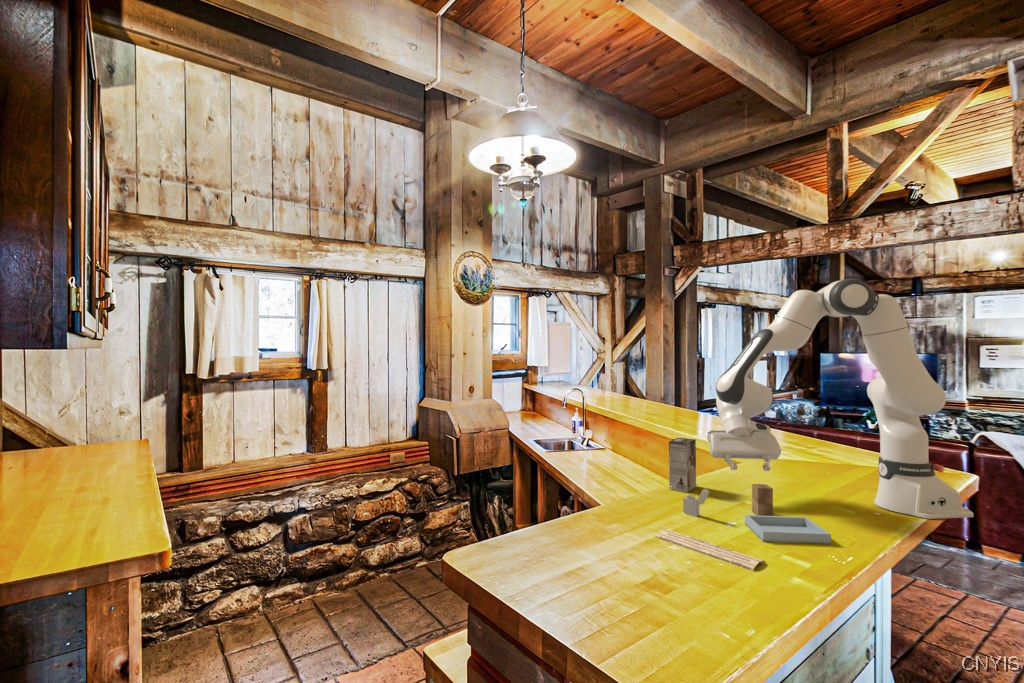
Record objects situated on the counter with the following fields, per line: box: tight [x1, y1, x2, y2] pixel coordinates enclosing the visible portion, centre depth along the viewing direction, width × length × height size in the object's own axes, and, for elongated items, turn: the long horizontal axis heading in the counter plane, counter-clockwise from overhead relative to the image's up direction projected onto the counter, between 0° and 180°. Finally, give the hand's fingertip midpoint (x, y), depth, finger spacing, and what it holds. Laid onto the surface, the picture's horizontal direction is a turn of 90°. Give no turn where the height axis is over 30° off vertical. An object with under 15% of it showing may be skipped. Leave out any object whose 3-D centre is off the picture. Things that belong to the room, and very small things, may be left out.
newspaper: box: [655, 528, 766, 572], centre depth 112 cm, size 24×7×2 cm, turn 41°
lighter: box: [682, 488, 710, 518], centre depth 134 cm, size 7×2×8 cm, turn 41°
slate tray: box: [744, 514, 832, 545], centre depth 122 cm, size 16×12×2 cm
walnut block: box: [751, 483, 774, 516], centre depth 136 cm, size 4×4×8 cm
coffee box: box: [668, 437, 697, 493], centre depth 161 cm, size 9×6×16 cm
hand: (750, 469), depth 144 cm, fingers open, 8 cm apart
